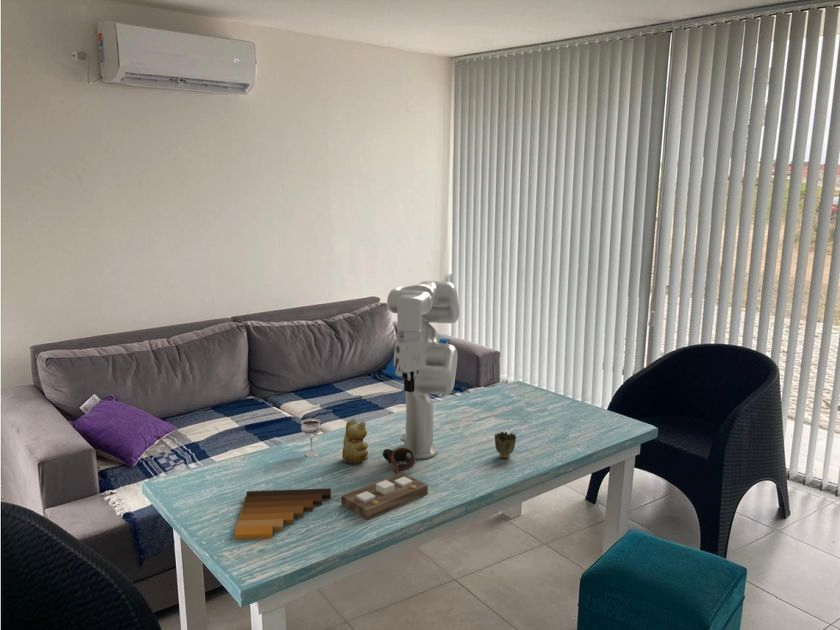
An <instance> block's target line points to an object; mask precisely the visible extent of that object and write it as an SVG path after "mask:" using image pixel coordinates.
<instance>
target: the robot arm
mask: <svg viewBox="0 0 840 630" xmlns="http://www.w3.org/2000/svg"><path fill="white" fill-rule="evenodd" d="M386 306H387V309H388V310H389V312H391V313H393V314H397V315H396V317H397V319H396V320H397V323H396V324H397V327H396V328H397V331H396V334H395V338H396V340H395V344H394V354H393V369H394V371H395V373H394V375H395V376H397V377H401V378H402V379H403V391H404V392H405V408H406V409H405V433H404V434H403V435H402V436H401V437H400V438H399V441H400V442H403V446H401V448H407V449H409V450H411V451H412V452H413V455H414V456H415V457H414V460H425V459H430V458H432V457H435V456H436V455H437V454H438V448H437V447H436V446H435V445H434V403H433V400H432V399H431V397H430V396H429V394H431V395H449V394H451V393H452V392H453V390H454V386H455V380H456V374H457V366H458V357H459V356H458V350H457V348H456V346H454V345H453V344H450V343H441V342H440V339H441V337H440V334H439V332H438V331H437V330H436V329H435V327H434V326H433V325H431V324H432V323H433V324H434V323H435V324H454V323H457V322H458V320H459V317H460V304H459V296H458V291H457V289H456V286H455V285H454V283H452V282H450V281H443V280H442V281H439V280H438V281H437V280H424V281H422V282H420V283H418V284H412V285H406V286H405V285H404V286H399V287H394V288H393V289H391V290H390V291H389V293H388V296H387V300H386ZM406 456H407V457H408V458H410V459H411V455H410V453H407V455H406Z"/></svg>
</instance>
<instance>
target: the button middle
mask: <svg viewBox="0 0 840 630" xmlns="http://www.w3.org/2000/svg"><path fill="white" fill-rule="evenodd" d="M376 491H377V492H379V493H381V494H383V495H386V494H388V493H391V492H393V491H395V484H393V483H391V482H389V481H387V480H385V481H382V482H379V483H377V484H376Z"/></svg>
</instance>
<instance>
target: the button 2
mask: <svg viewBox="0 0 840 630" xmlns="http://www.w3.org/2000/svg"><path fill="white" fill-rule="evenodd" d="M395 484H397V485H399V486H401V487H406V486H408V485H411V484H413V481H412V480H410V479H408V478H406V477H402V478H399V479H397V480H395Z"/></svg>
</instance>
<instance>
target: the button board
mask: <svg viewBox="0 0 840 630" xmlns="http://www.w3.org/2000/svg"><path fill="white" fill-rule="evenodd" d="M402 477H406V478H408V479H410V480H412V481H413V484H411V485H408V486H406V487H401V486H399V485H397V484H395V480H397V479H399V478H402ZM385 480H387V481H389V482H391V483H393V484H395V491H393V492H391V493H388V494H386V495H383V494H381V493H379V492H377V491H376V484H377V483H379V482H382V481H385ZM428 486H429V485H428V484H427V483H425V482H422V481H421V480H418V479H417V478H415V477H412V476H410V475H408V474H406V473H403V471H402V472H398V473H397V474H393V475H391V476H389V477H386V478H384V479H381V480H378V481H376V482H373V483H371V484H368V485H365V486H363V487H360V488H358V489H355V490H353V491H350V492H346V493H345V494H343V495H340V496H341V498H340V499H341V502H340V505H341V506H343V507H344V508H346V509H347V510H349V511H351V512H353V513H354V514H356V515H358V516H359V517H361V518H363V519H365V520H366V521H368V520H370V519H372V518H375V517H378V516H379V515H381V514H384V513H386V512H389V511H391V510H393V509H396V508H398V507H401V506H402V505H405V504H408V503H409V502H412V501H414V500H417V499H418V498H421V497H423V496H427V495H428V494H429V493H428V492H429V487H428ZM366 491H367V492H369V493H371V494H373V495H375V499H374V500H371V501H369V502H366V503H363V502H362V501H360V500H358V499H356V495H358V494H361V493H363V492H366Z"/></svg>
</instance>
